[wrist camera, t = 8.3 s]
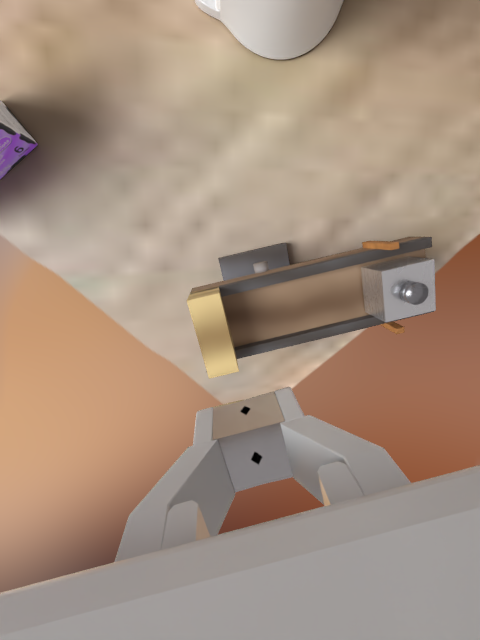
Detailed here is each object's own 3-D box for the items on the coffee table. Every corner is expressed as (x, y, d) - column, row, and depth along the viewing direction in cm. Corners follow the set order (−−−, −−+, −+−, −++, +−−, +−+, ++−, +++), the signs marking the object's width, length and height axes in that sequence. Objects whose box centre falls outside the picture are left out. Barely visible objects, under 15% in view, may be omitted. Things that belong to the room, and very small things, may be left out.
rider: (360, 267, 30) (388, 273, 25) (406, 256, 30) (444, 260, 25) (365, 312, 32) (392, 326, 27) (409, 301, 32) (445, 313, 27)
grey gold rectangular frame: (192, 264, 39) (180, 279, 26) (373, 221, 39) (454, 214, 26) (214, 345, 42) (214, 396, 29) (380, 305, 43) (455, 337, 29)
